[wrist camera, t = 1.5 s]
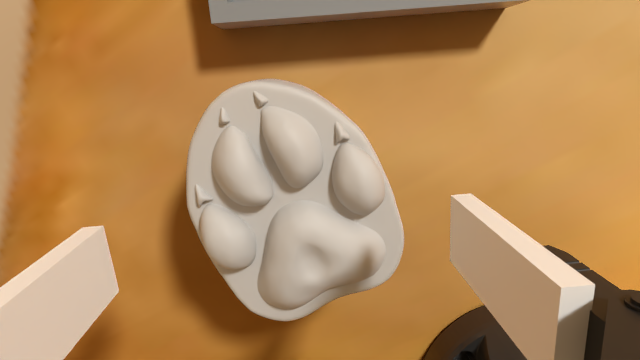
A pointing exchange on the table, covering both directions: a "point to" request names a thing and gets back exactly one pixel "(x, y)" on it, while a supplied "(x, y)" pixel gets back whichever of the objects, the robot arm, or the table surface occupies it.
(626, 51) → the table surface
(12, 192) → the table surface
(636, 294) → the robot arm
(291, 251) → the lumpy-topped squat cylinder
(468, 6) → the charcoal tray
